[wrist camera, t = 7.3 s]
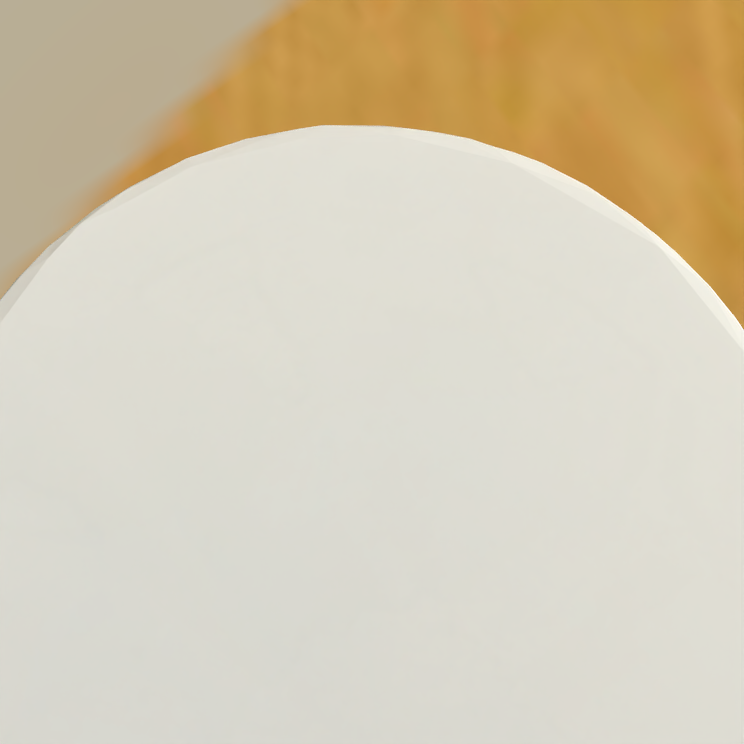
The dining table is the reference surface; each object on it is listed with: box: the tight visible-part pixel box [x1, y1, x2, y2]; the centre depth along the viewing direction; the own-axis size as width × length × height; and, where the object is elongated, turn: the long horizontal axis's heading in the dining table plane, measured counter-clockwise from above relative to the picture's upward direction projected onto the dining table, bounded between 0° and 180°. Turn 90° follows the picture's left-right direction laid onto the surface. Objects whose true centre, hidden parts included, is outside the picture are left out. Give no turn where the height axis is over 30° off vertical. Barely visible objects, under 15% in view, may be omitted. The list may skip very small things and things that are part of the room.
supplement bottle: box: [0, 125, 744, 744], centre depth 9 cm, size 7×7×13 cm
